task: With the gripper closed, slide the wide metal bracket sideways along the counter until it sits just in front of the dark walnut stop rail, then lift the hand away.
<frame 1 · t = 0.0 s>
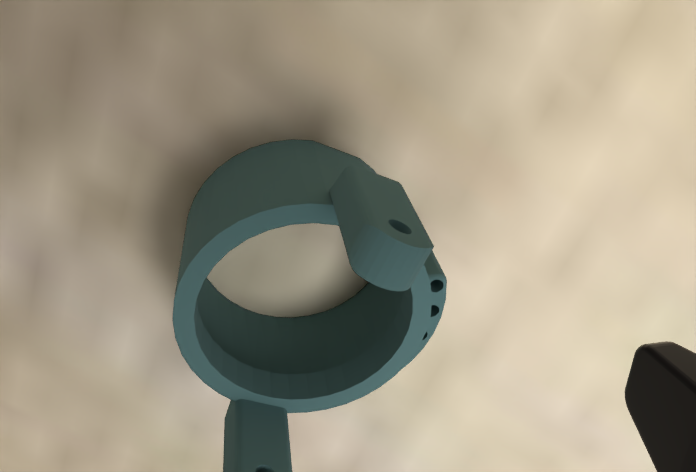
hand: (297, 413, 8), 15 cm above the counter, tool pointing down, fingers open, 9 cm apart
bracket: (303, 240, 24), on the counter
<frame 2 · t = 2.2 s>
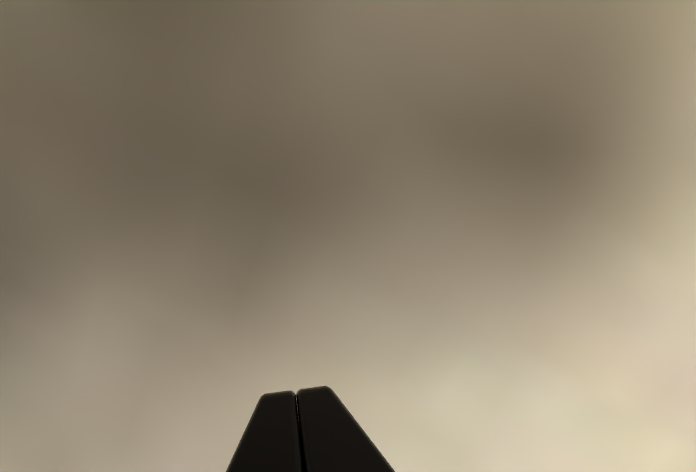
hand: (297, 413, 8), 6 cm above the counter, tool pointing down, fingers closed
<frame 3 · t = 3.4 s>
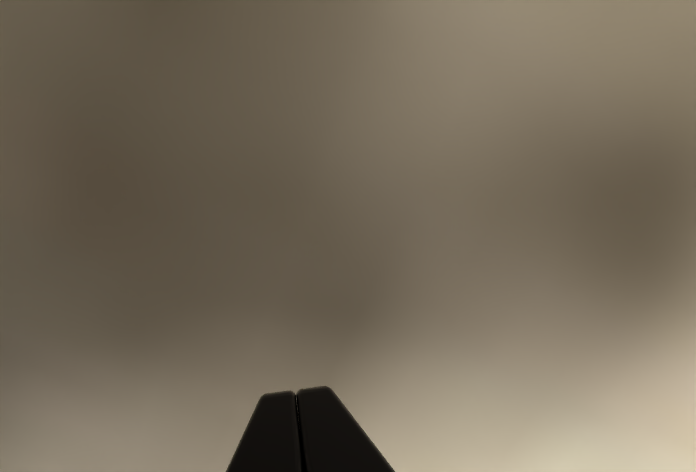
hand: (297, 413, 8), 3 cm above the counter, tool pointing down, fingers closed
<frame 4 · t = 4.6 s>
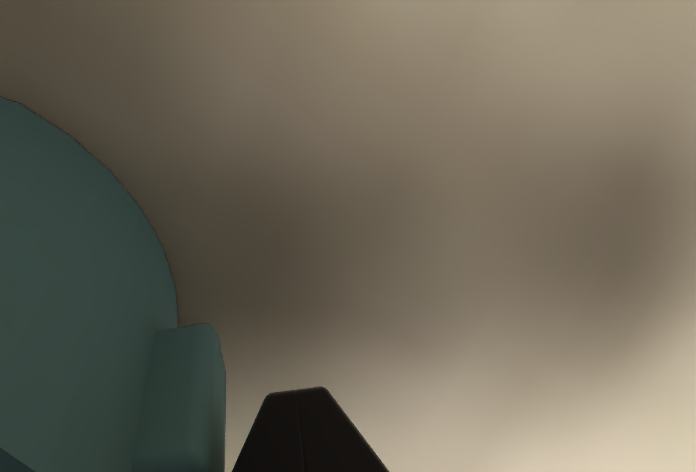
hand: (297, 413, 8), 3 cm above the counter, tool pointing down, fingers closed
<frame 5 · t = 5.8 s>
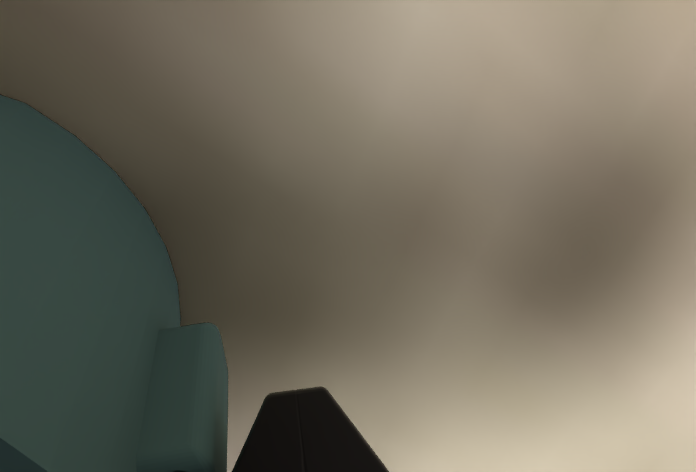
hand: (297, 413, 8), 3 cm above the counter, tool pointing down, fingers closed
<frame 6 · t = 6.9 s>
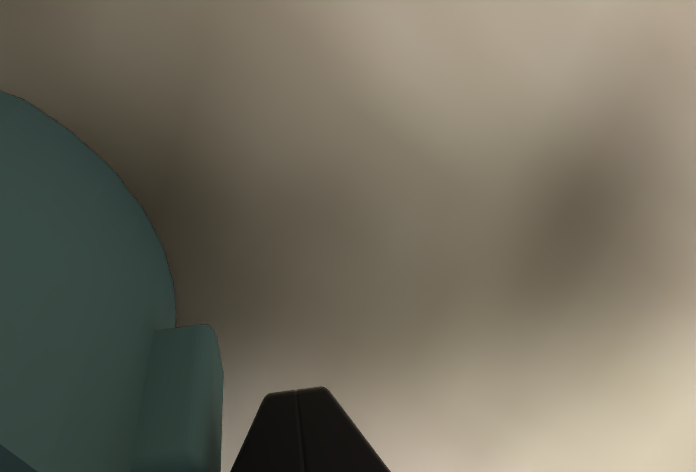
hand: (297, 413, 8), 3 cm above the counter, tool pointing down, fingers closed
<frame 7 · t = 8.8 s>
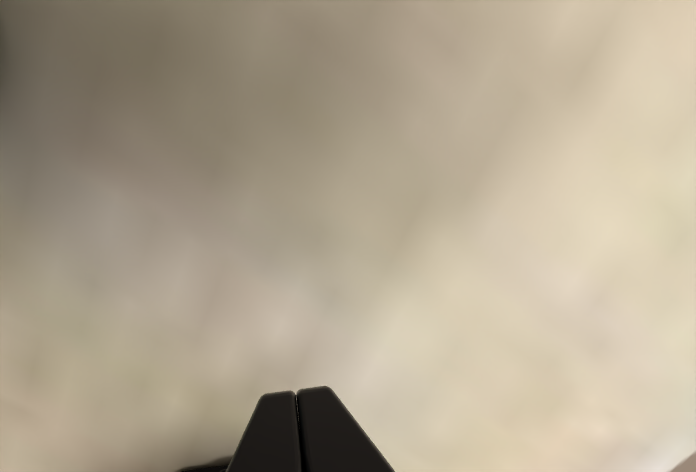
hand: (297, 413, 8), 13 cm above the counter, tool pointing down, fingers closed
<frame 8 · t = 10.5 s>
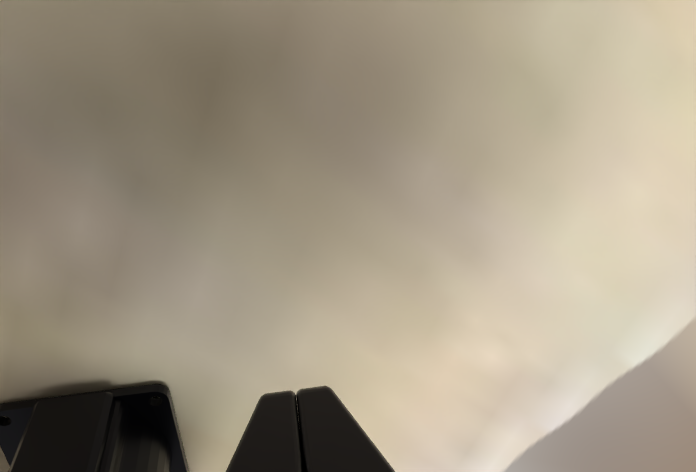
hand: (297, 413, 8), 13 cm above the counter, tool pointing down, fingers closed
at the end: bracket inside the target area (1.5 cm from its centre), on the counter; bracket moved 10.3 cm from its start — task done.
